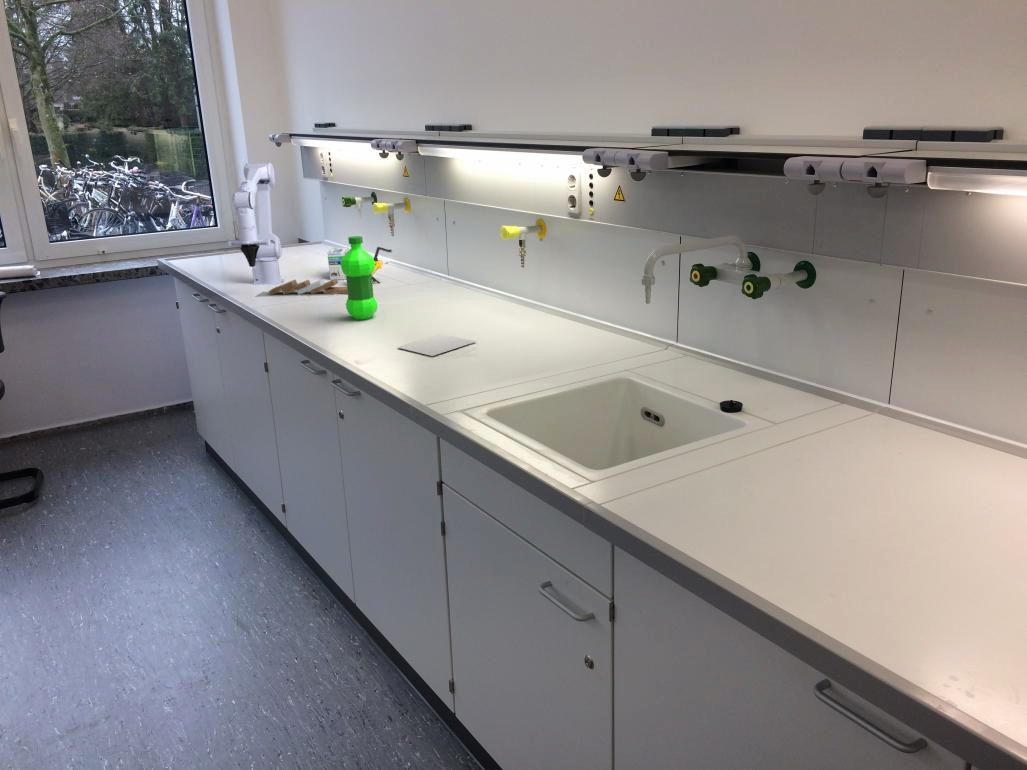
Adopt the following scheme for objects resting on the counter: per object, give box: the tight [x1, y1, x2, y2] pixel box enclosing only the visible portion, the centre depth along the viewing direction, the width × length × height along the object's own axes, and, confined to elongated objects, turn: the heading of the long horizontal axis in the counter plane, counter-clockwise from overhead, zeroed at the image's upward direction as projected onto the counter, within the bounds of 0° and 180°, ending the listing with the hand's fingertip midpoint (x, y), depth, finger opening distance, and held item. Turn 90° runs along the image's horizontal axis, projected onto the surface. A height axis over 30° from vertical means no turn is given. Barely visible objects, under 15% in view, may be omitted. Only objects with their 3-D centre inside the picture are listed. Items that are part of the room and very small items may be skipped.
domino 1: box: [268, 279, 298, 295], centre depth 297 cm, size 2×5×9 cm
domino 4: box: [323, 286, 348, 295], centre depth 296 cm, size 2×5×9 cm
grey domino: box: [296, 278, 326, 295], centre depth 297 cm, size 2×5×9 cm
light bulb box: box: [327, 247, 350, 281], centre depth 324 cm, size 11×7×11 cm, turn 2°
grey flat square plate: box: [397, 333, 477, 357], centre depth 223 cm, size 23×25×1 cm
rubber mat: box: [255, 290, 335, 298], centre depth 298 cm, size 28×8×1 cm, turn 86°
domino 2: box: [282, 279, 312, 295], centre depth 297 cm, size 2×5×9 cm
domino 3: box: [310, 278, 339, 295], centre depth 296 cm, size 2×5×9 cm
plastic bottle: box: [341, 235, 378, 321], centre depth 258 cm, size 10×10×25 cm
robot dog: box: [345, 246, 393, 284], centre depth 309 cm, size 6×18×13 cm, turn 120°
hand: (252, 266), depth 296 cm, fingers closed
